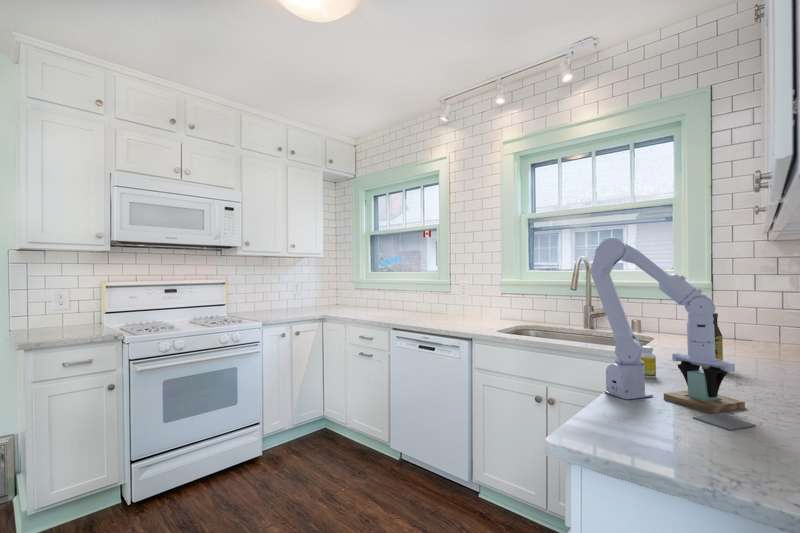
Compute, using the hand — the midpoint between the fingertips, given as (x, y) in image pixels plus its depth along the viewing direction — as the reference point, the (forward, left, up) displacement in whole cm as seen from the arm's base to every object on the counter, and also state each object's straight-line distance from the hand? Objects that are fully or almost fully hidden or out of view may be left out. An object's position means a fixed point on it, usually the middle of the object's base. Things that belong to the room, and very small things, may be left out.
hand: (702, 394), depth 104 cm
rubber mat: (-9, -11, -2) cm, 14 cm away
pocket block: (0, 0, -2) cm, 2 cm away
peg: (0, 0, -2) cm, 2 cm away
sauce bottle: (+41, +27, -3) cm, 49 cm away
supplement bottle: (+11, +27, -3) cm, 29 cm away
